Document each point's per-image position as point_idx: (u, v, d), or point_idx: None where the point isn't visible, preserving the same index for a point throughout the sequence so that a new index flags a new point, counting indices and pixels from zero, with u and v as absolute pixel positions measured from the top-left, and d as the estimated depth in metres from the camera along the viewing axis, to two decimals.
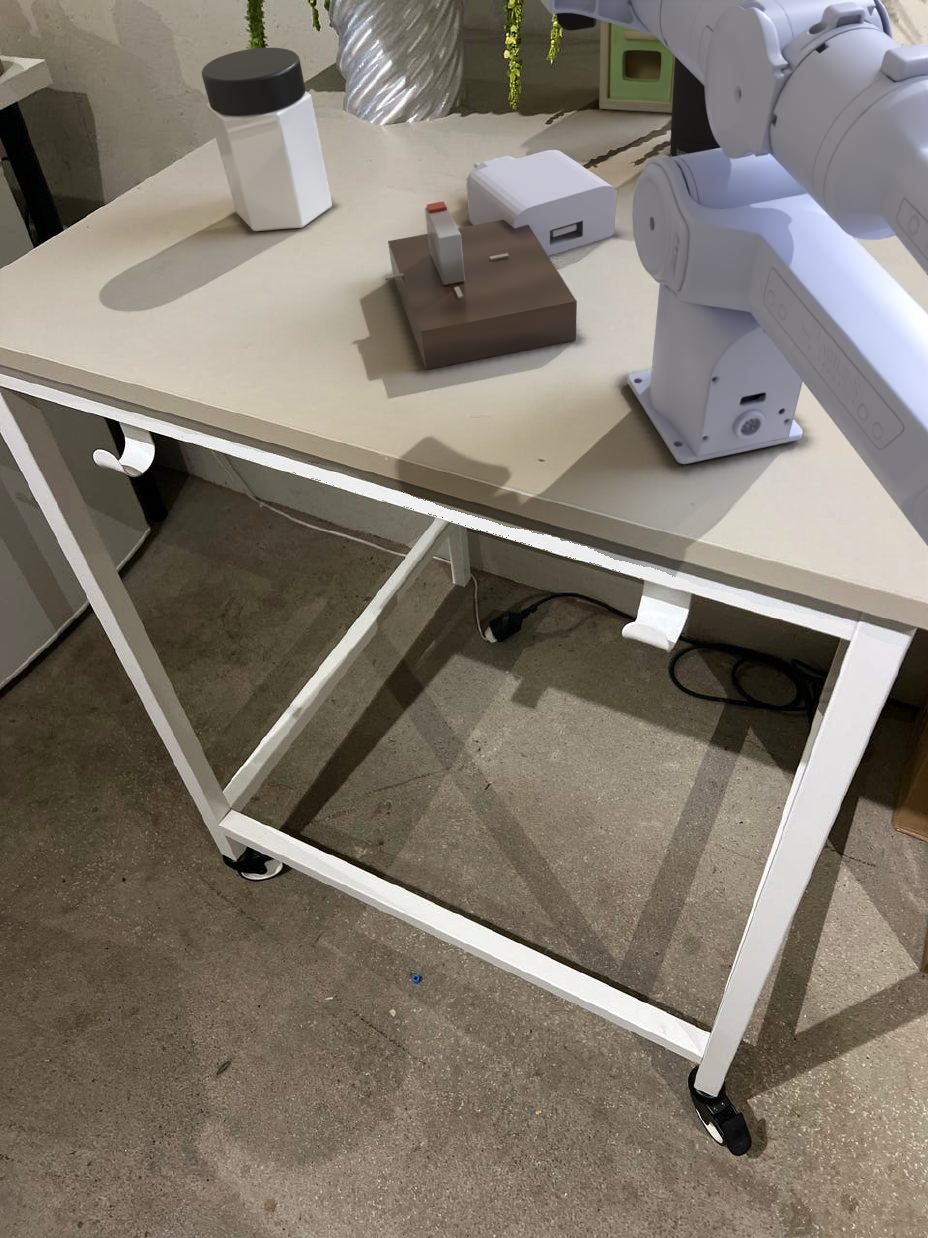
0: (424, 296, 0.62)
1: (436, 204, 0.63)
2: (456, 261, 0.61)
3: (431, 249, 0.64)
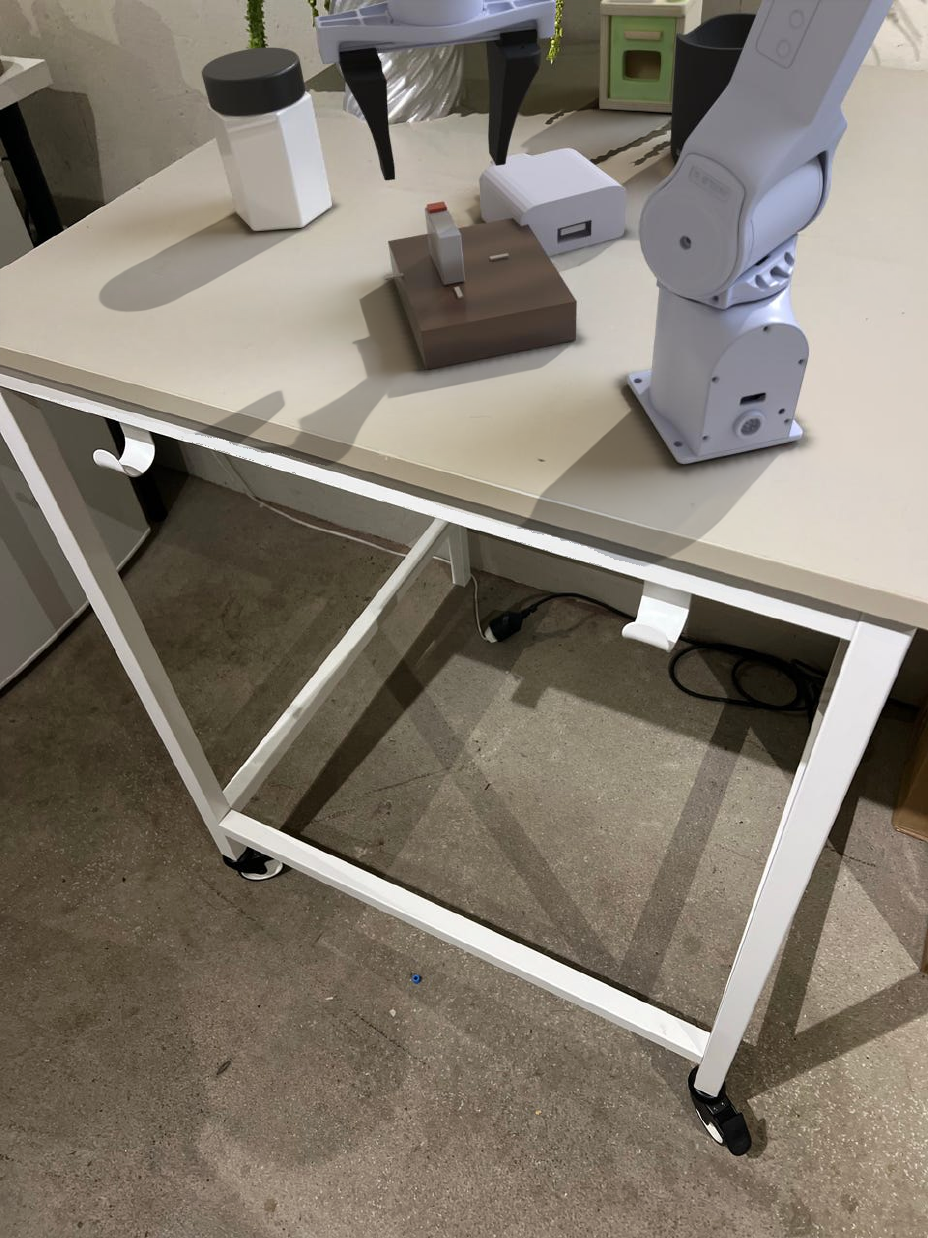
0: (424, 296, 0.62)
1: (436, 204, 0.63)
2: (456, 261, 0.61)
3: (431, 249, 0.64)
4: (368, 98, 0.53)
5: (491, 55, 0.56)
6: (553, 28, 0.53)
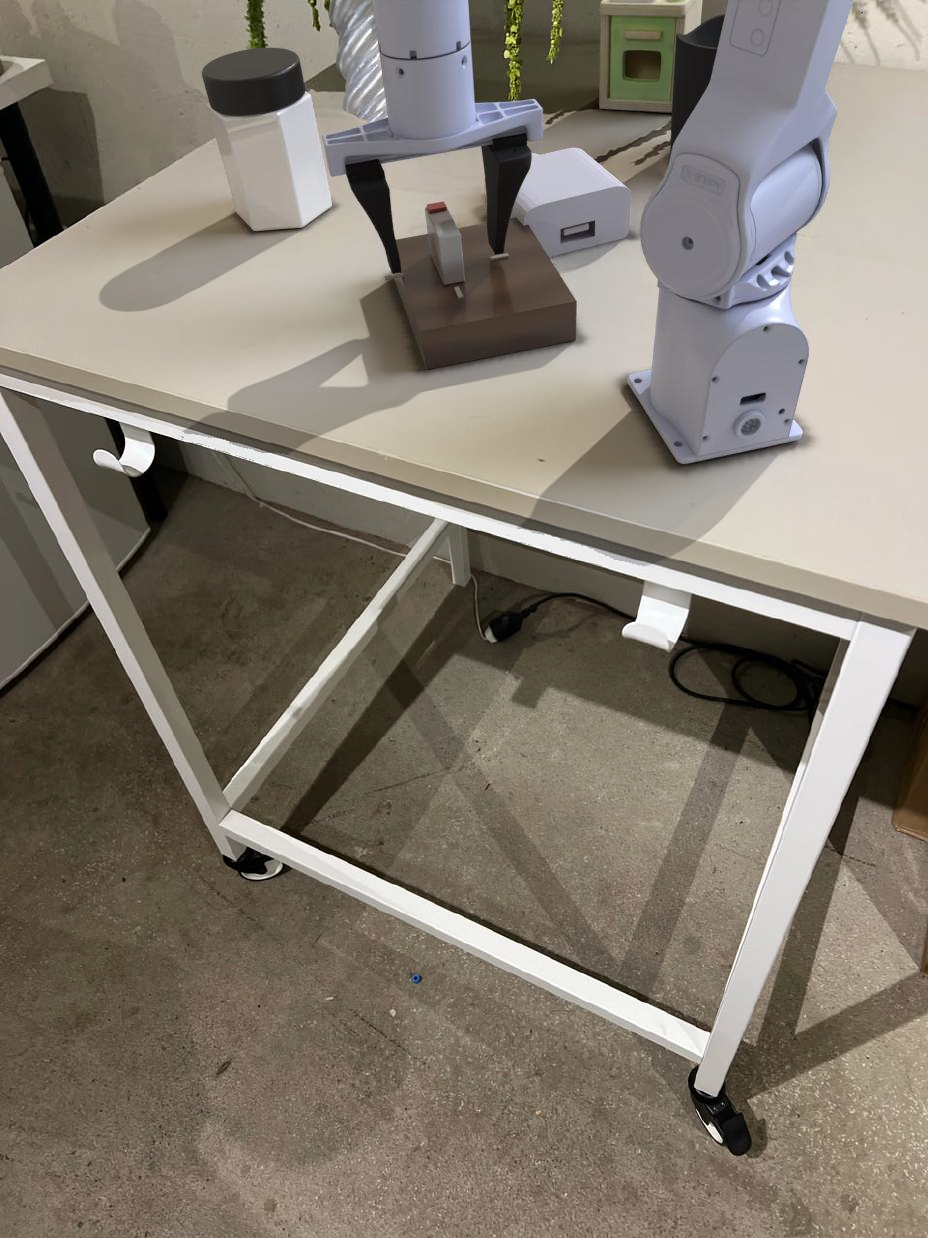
0: (424, 296, 0.62)
1: (436, 204, 0.63)
2: (456, 261, 0.61)
3: (431, 249, 0.64)
4: (373, 204, 0.58)
5: (486, 157, 0.60)
6: (541, 132, 0.58)
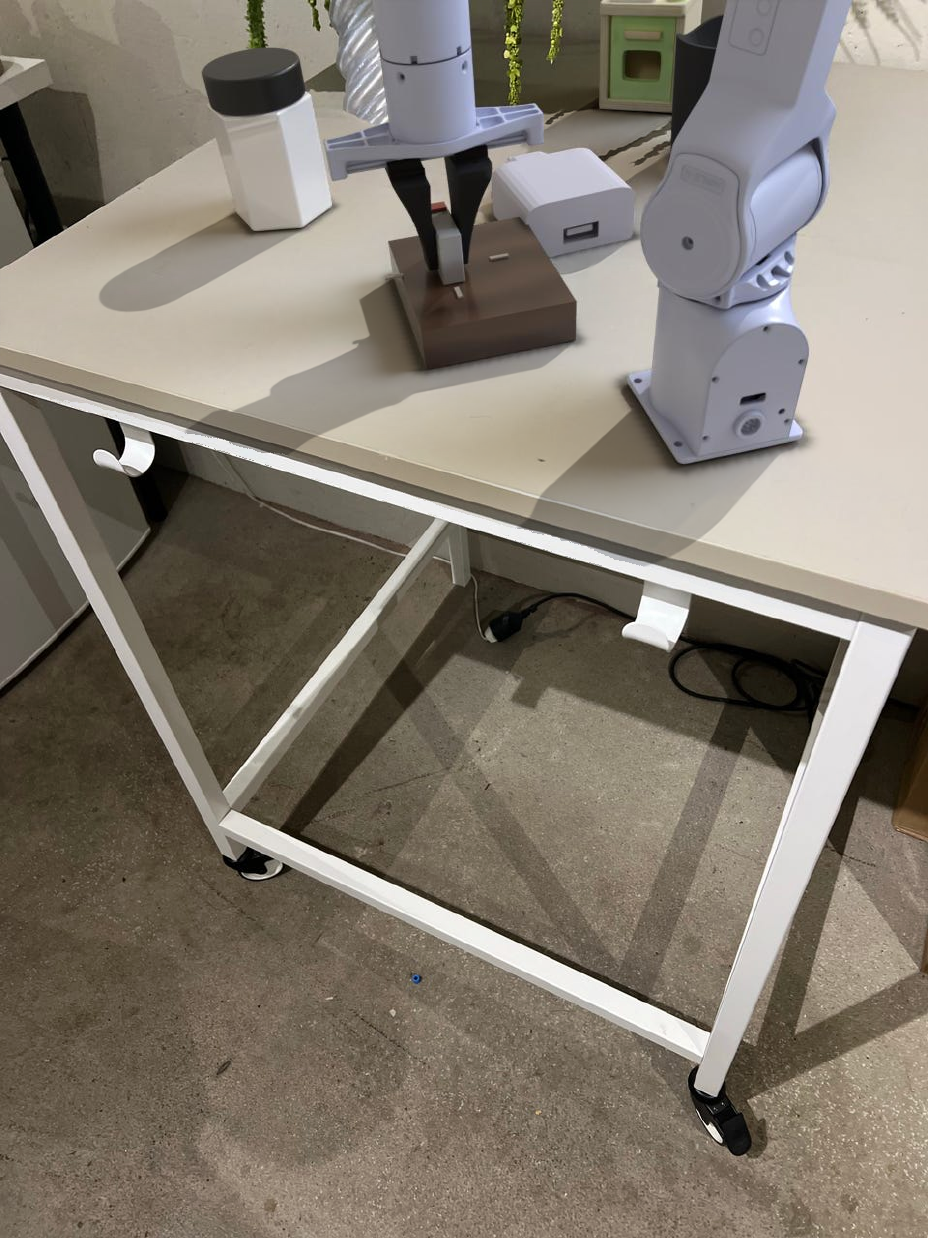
0: (424, 296, 0.62)
1: (436, 204, 0.63)
2: (456, 261, 0.61)
3: None
4: (414, 201, 0.58)
5: (448, 168, 0.60)
6: (542, 136, 0.58)
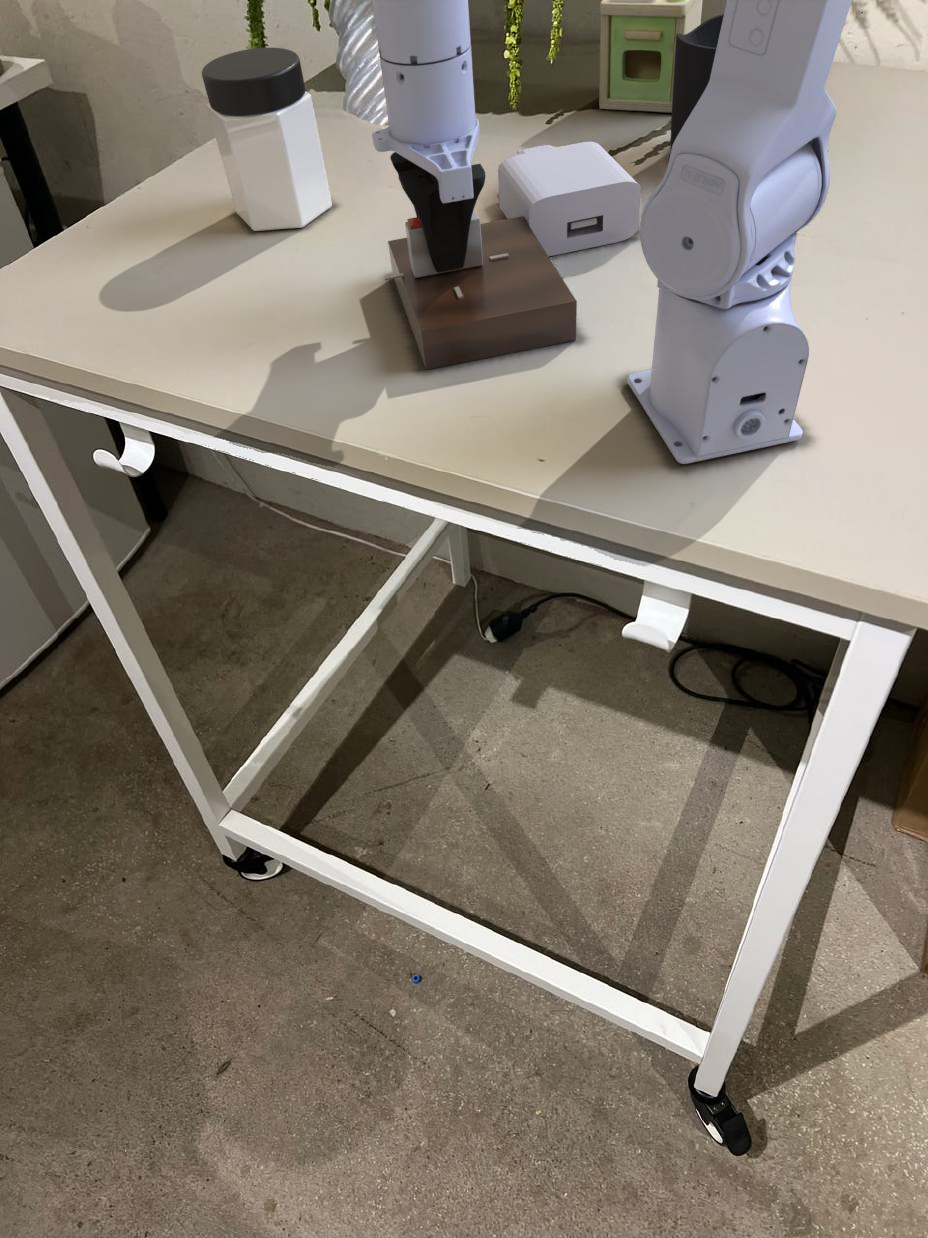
0: (424, 296, 0.62)
1: (412, 221, 0.61)
2: None
3: (429, 264, 0.63)
4: None
5: None
6: None
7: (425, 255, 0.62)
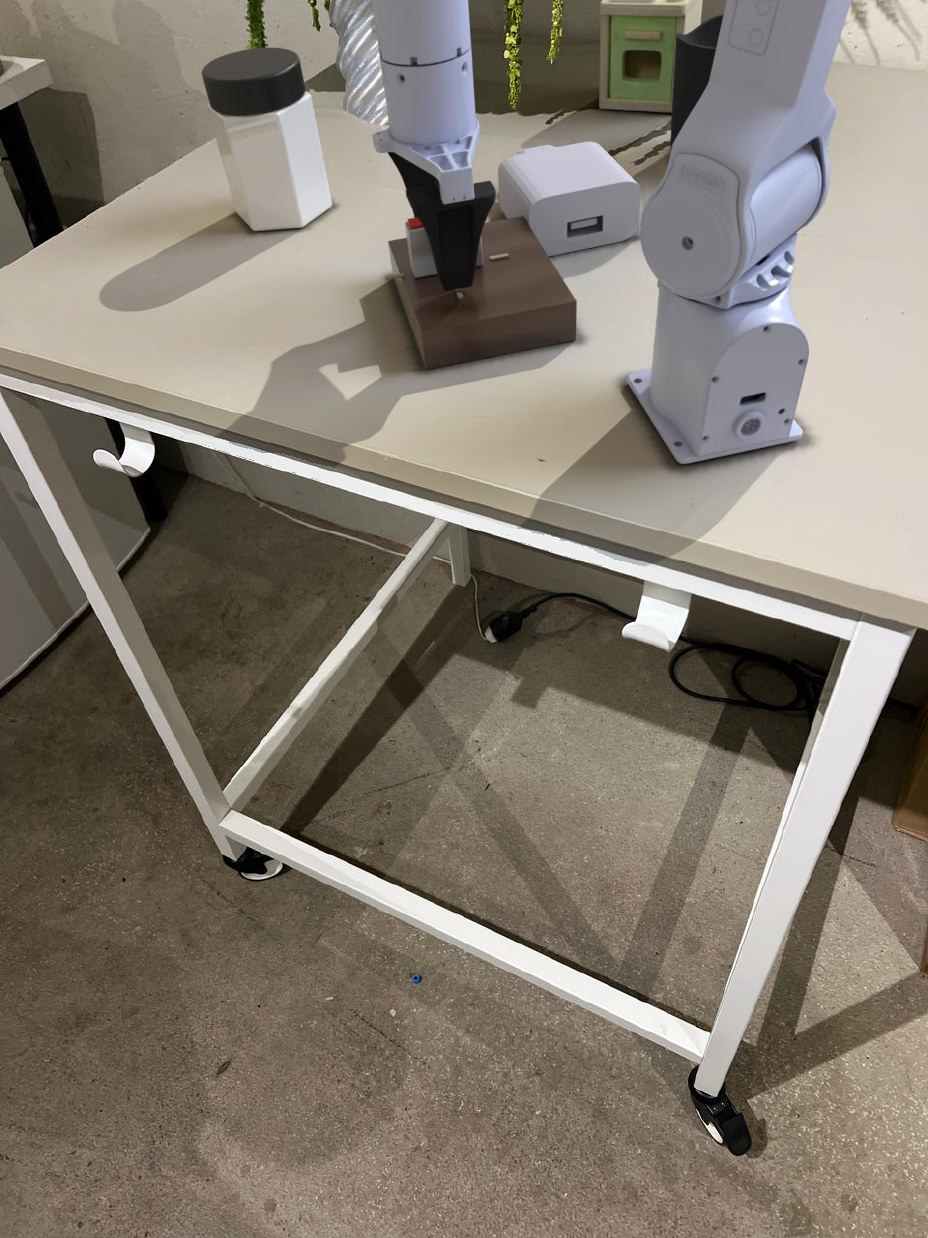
0: (424, 296, 0.62)
1: (412, 221, 0.61)
2: None
3: (429, 264, 0.63)
4: None
5: None
6: None
7: (425, 255, 0.62)
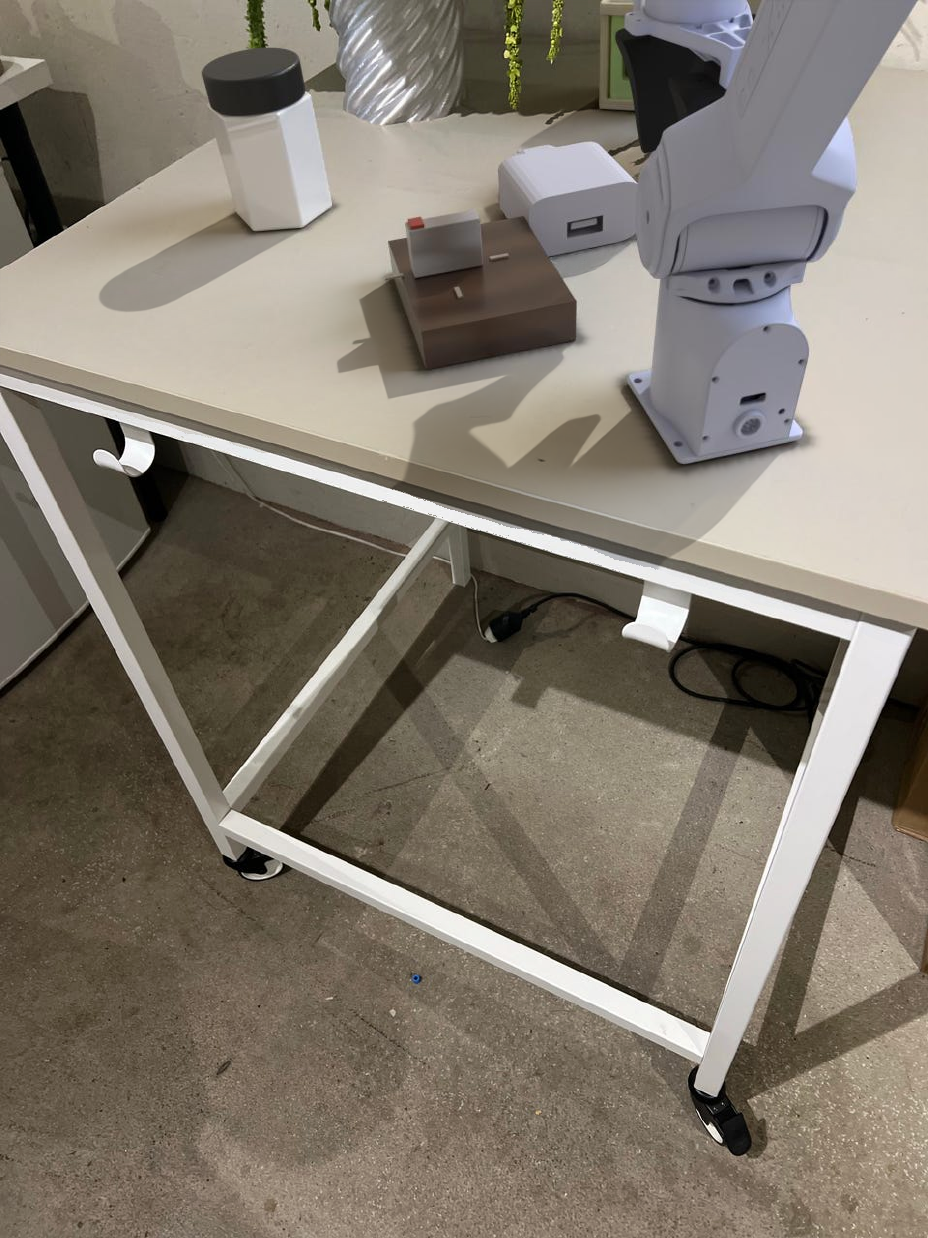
0: (424, 296, 0.62)
1: (412, 221, 0.61)
2: None
3: (429, 264, 0.63)
4: None
5: (650, 52, 0.55)
6: None
7: (425, 255, 0.62)
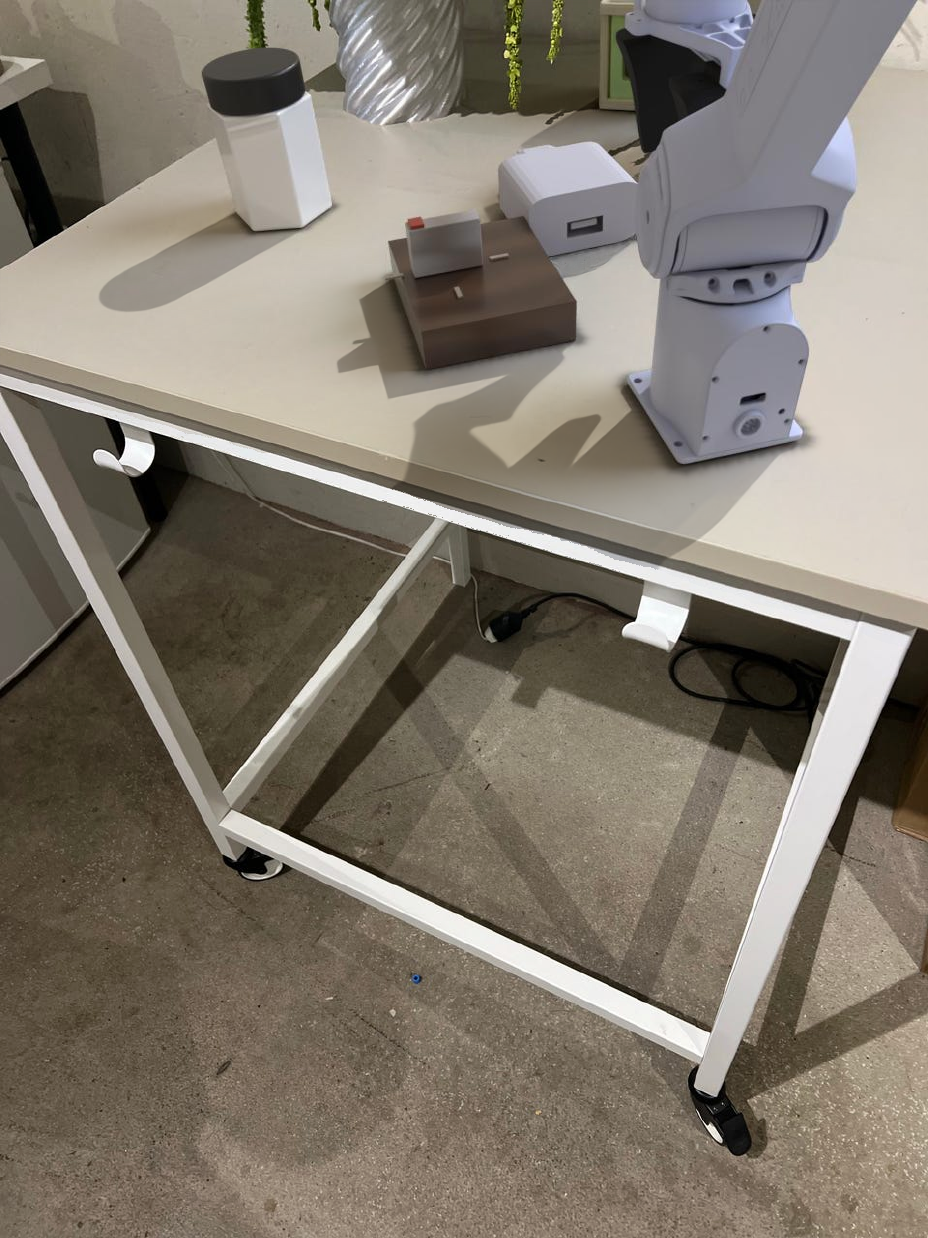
0: (424, 296, 0.62)
1: (412, 221, 0.61)
2: None
3: (429, 264, 0.63)
4: None
5: (651, 52, 0.55)
6: None
7: (425, 255, 0.62)
